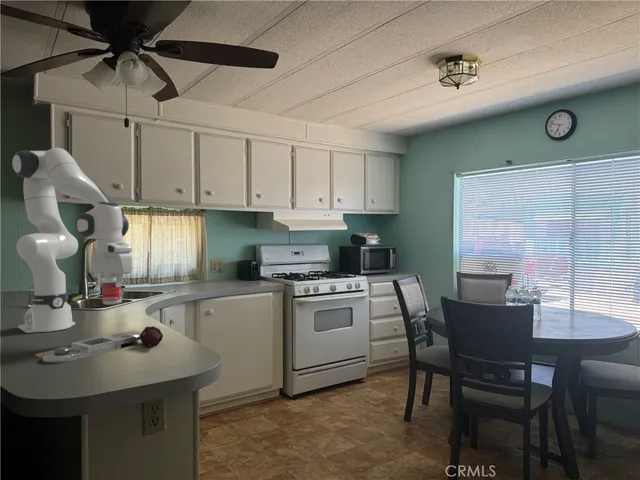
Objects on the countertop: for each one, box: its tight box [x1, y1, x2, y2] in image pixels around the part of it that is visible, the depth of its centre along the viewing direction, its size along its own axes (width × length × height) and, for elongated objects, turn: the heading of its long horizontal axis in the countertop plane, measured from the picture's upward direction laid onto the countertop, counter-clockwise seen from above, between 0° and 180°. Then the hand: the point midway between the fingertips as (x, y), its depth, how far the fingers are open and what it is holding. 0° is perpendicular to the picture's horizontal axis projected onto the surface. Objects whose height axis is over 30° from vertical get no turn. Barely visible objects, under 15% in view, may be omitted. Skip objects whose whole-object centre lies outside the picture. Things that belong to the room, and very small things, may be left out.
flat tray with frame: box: [42, 331, 143, 364], centre depth 148 cm, size 32×10×3 cm, turn 146°
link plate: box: [34, 349, 55, 359], centre depth 145 cm, size 8×3×1 cm, turn 144°
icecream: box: [140, 325, 164, 348], centre depth 152 cm, size 7×7×15 cm
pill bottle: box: [101, 273, 123, 305], centre depth 160 cm, size 6×6×11 cm
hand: (111, 286), depth 160 cm, fingers closed on pill bottle, 6 cm apart
